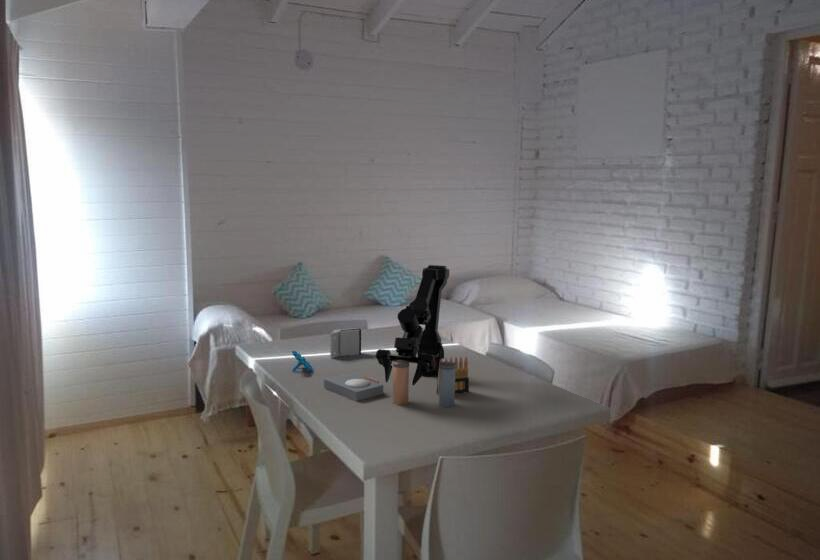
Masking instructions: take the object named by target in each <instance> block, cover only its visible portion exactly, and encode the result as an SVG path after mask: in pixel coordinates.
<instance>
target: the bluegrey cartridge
mask: <svg viewBox="0 0 820 560" xmlns="http://www.w3.org/2000/svg"><path fill="white" fill-rule="evenodd" d="M439 367H440V381H439V395H438V405H439V406H440V407H443V408H452V407H455V403H456V402H455V401H456V400H455V398H456V397H455V395H456V394H455V368H456V364H455V363H454V361H453V362H450V361H448V362H445V361H442V362H441V363H440V365H439Z"/></svg>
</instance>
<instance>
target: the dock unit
mask: <svg viewBox="0 0 820 560" xmlns="http://www.w3.org/2000/svg"><path fill="white" fill-rule="evenodd" d="M323 388H324V389H326V390H329V391H331V392H334V393H335V394H338V395H341V396H343V397H345V398H347V399H350V400H352V401H355V402H359V401H362V400H366V399H369V398H373V397H374V398H375V397H377V396H381V395H384V385H383V384H381V383H380V381H379V380H377V379H375V378H372V377H370V376H366V375H365V376H363V377H362V376H361V375H360V376H359V375H357V374H354V373H351V372H350V373H345V374H342V375H336V376H332V377H328V378H327V377H326V378H324V379H323Z"/></svg>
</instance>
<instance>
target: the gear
mask: <svg viewBox="0 0 820 560" xmlns="http://www.w3.org/2000/svg"><path fill="white" fill-rule="evenodd" d="M291 353H292V356H294V358H295V360H296V361H298V362H297V364H296V365H295V366H294V367H292V369H291V371H293V372H295V371H297V369H299V367H301V366H302V365H303V367H304V368H305V369H307V370H308V372H313V371H314V369H313V366H312V365H311V363H310V362H309V361H307V359H306V358H305V356H302V354H301V353H298V351H296V350H292V351H291Z"/></svg>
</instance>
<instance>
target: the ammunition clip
mask: <svg viewBox="0 0 820 560" xmlns="http://www.w3.org/2000/svg"><path fill="white" fill-rule="evenodd" d="M458 361H459V362H458ZM463 361H464V362H463ZM441 362H443V359H440V363H441ZM444 362H453V363H455V364H456V368H455V393H459V394H465V393H464V392H468V393H469V392H470V391H469V390H470V389H469V388H470V387H469V386H470V385H469V383H470V382H469V365H468V363H469V362H468V357H467V356H465V357H464V360H463V358H462V356H460V357H459V360H458V358H457V357H455V358H454V361H453V358H452V357H450V359H449V361H448V359H447V357H446V358H444ZM440 363H439V365H440ZM439 381H440V367H439V372H438V376H437V387H436V395H438V396H439Z"/></svg>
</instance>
